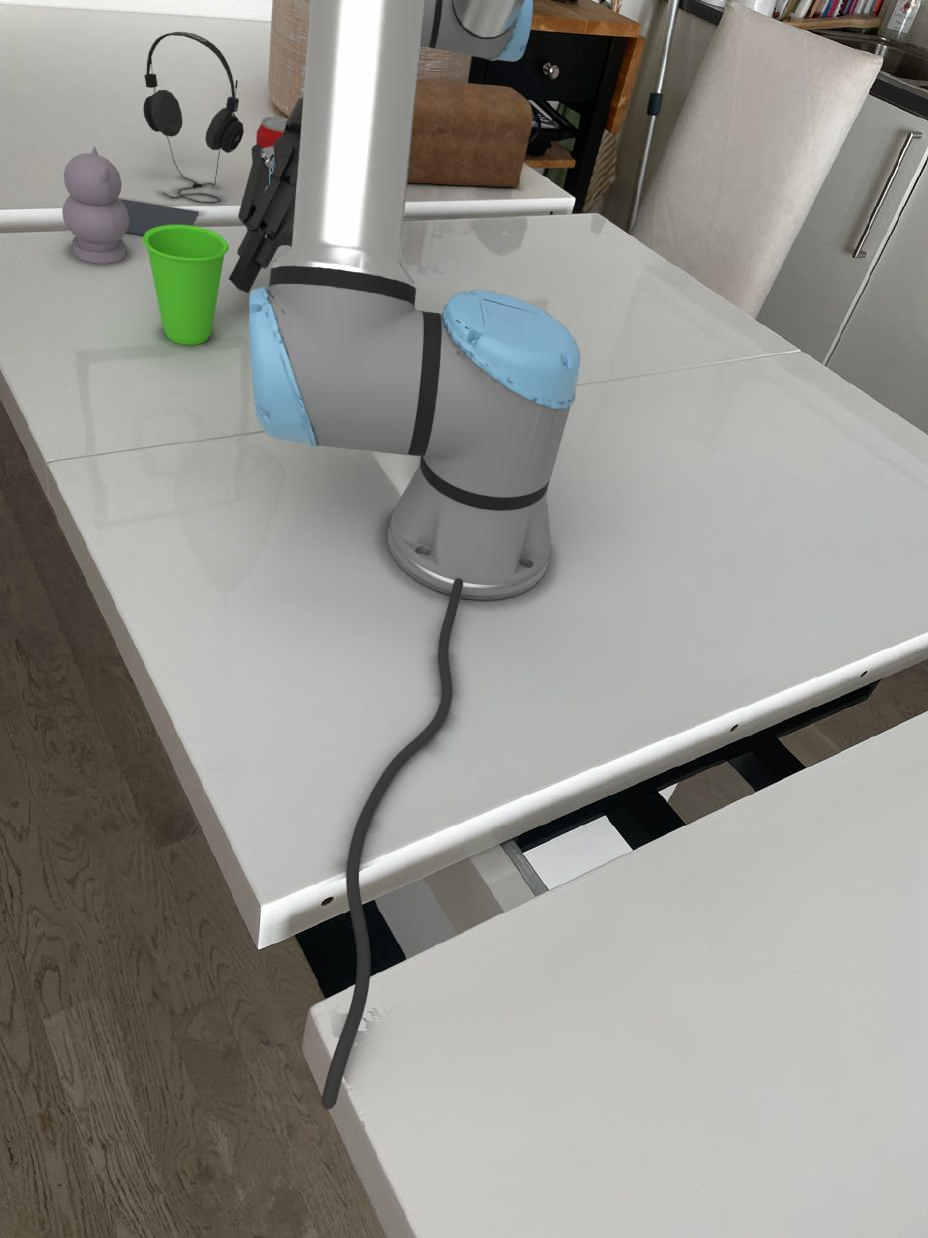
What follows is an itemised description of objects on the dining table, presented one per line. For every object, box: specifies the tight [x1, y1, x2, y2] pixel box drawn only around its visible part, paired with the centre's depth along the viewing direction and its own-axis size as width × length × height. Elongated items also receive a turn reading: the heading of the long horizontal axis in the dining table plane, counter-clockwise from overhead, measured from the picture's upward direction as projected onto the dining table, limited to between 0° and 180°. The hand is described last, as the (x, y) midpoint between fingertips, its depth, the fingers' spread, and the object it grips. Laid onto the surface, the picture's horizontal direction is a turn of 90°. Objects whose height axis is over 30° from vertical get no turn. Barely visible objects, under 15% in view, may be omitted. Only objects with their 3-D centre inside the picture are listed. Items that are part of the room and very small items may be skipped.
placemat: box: [118, 198, 200, 236], centre depth 136 cm, size 11×11×1 cm
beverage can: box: [255, 116, 288, 191], centre depth 143 cm, size 7×7×12 cm
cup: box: [141, 225, 230, 346], centre depth 110 cm, size 9×9×11 cm
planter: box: [267, 0, 472, 118], centre depth 177 cm, size 37×37×32 cm
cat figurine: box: [61, 145, 129, 265], centre depth 122 cm, size 8×8×12 cm
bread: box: [407, 78, 534, 188], centre depth 166 cm, size 14×34×14 cm, turn 111°
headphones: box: [142, 31, 245, 204], centre depth 141 cm, size 15×11×20 cm
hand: (238, 285), depth 118 cm, fingers closed
